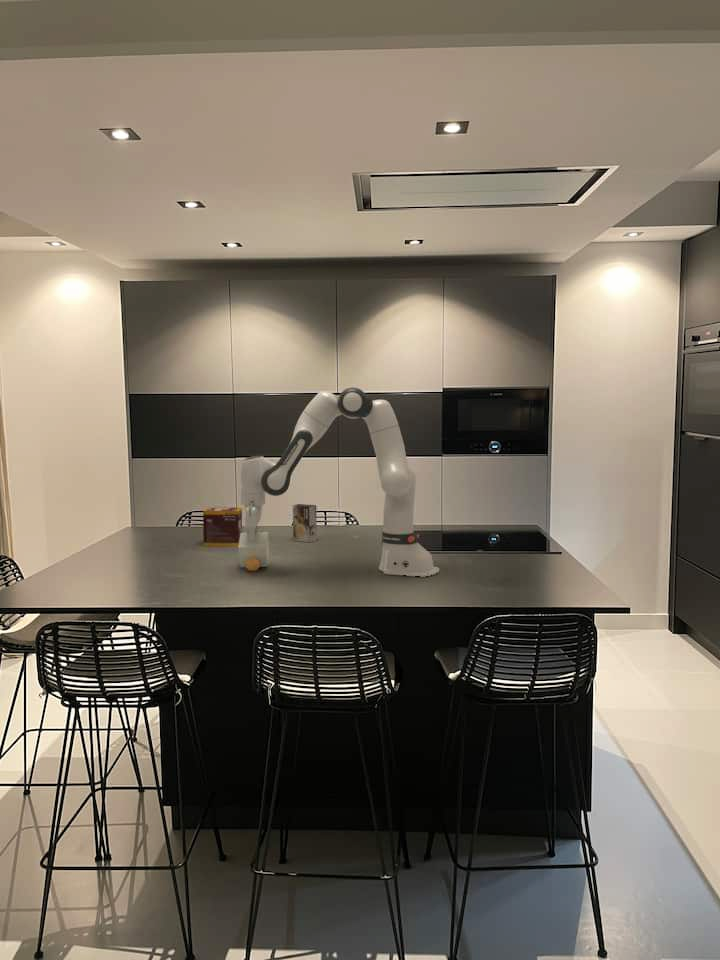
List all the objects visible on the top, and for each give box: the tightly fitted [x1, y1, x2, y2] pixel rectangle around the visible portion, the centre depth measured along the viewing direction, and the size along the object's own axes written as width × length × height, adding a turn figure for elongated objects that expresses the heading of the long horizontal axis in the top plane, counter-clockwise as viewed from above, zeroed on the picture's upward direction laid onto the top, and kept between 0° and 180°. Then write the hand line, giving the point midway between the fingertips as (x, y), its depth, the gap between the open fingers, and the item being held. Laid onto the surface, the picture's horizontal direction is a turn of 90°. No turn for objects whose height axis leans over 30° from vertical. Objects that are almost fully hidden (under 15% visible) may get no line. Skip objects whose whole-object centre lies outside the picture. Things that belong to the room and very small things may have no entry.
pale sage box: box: [237, 527, 270, 568], centre depth 278 cm, size 10×10×13 cm
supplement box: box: [202, 506, 243, 547], centre depth 324 cm, size 10×15×16 cm
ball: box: [245, 558, 260, 572], centre depth 273 cm, size 5×5×5 cm
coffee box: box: [292, 503, 318, 543], centre depth 333 cm, size 9×6×16 cm
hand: (253, 536), depth 276 cm, fingers closed on pale sage box, 5 cm apart
